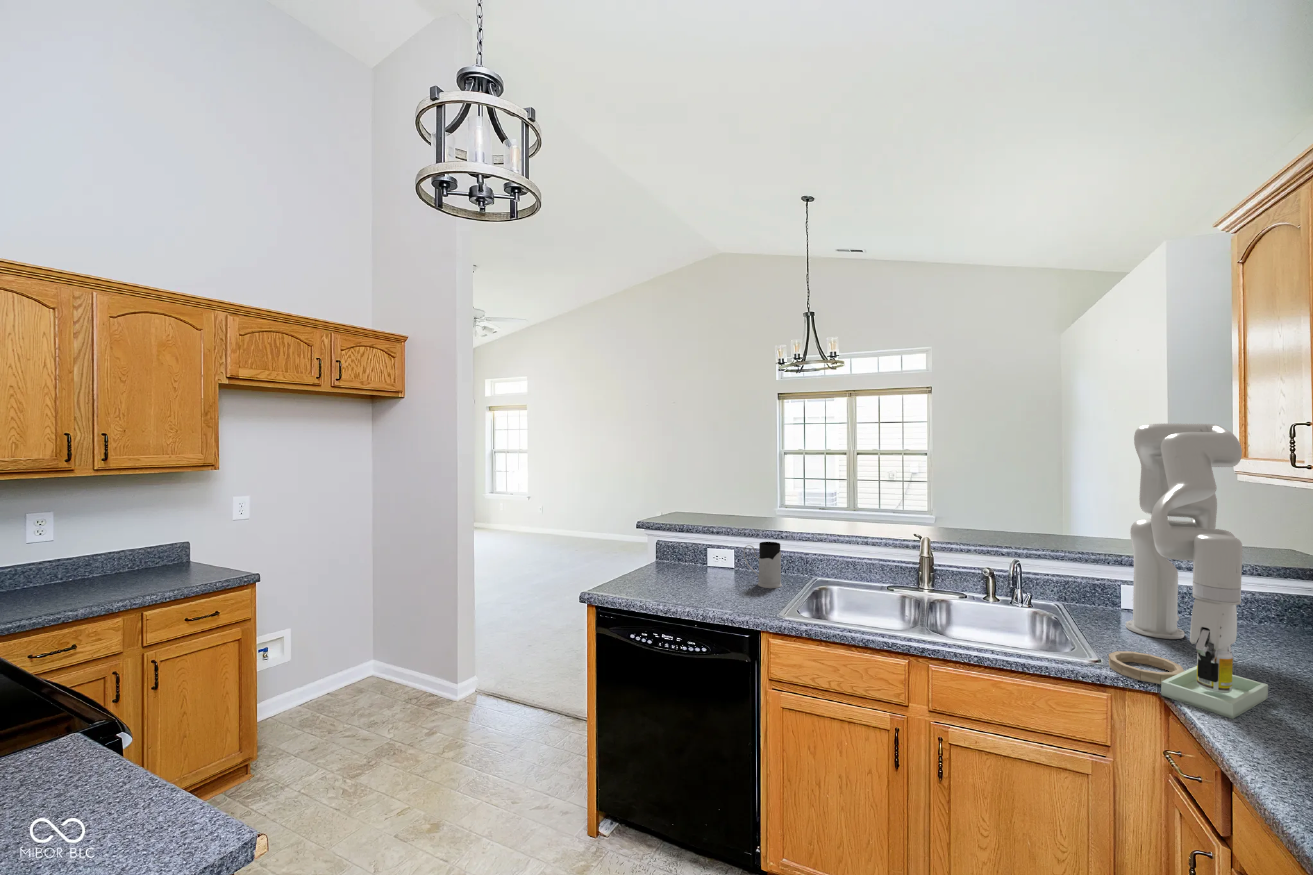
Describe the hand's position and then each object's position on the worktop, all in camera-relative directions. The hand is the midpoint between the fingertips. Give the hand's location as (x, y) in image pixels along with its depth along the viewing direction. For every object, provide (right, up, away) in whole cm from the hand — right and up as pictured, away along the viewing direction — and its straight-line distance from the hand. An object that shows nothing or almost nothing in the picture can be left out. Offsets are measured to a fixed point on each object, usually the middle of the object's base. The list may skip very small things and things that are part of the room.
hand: (1214, 675), depth 127 cm
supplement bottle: (0, -3, 0) cm, 3 cm away
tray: (0, -4, 0) cm, 5 cm away
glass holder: (-81, -2, +89) cm, 120 cm away
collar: (-4, -4, +13) cm, 14 cm away
